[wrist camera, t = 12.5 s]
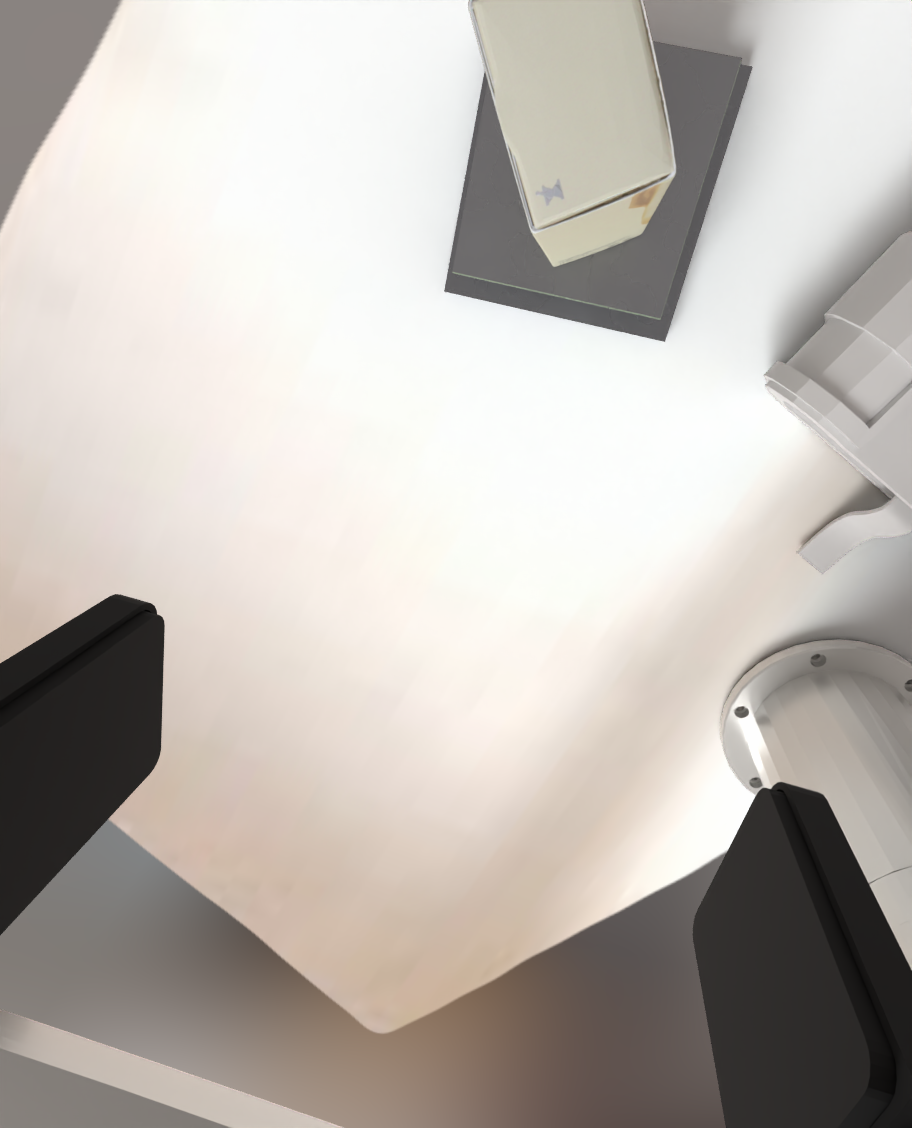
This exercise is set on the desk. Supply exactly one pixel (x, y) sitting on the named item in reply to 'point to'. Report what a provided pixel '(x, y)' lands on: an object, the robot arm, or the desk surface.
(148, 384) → the desk surface
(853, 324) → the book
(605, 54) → the skincare box
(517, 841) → the desk surface
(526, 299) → the grey piece
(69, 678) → the robot arm
